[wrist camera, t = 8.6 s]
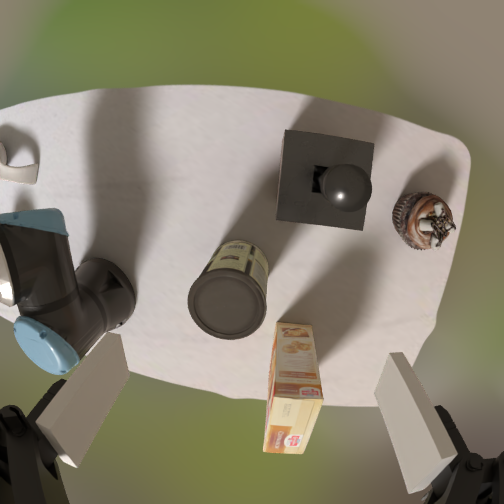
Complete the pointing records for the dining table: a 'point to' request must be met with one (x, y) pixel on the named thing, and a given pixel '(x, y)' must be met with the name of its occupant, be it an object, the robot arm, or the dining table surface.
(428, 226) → the cupcake
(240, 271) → the coffee can
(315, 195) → the grey brown upright block
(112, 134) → the dining table surface
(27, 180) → the spoon rest
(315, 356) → the coffeecake box
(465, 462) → the robot arm
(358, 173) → the plunger
